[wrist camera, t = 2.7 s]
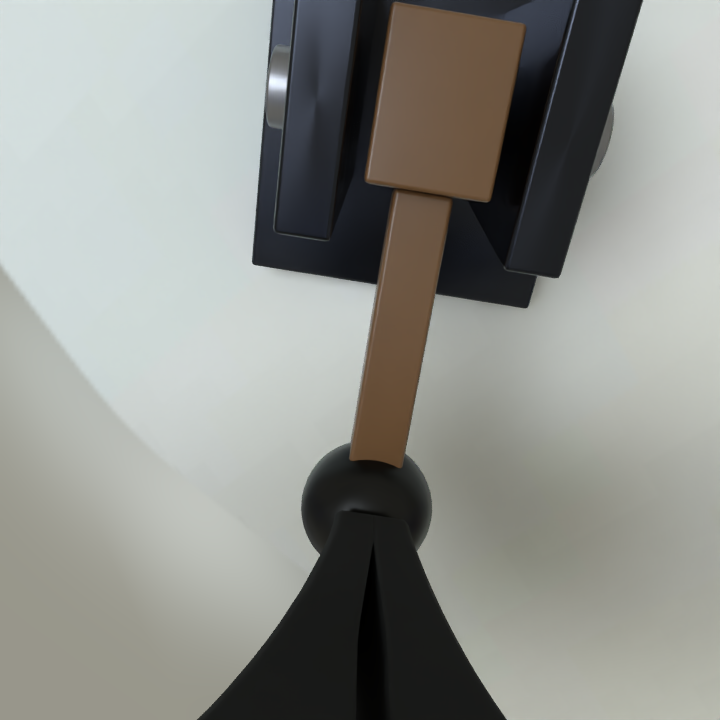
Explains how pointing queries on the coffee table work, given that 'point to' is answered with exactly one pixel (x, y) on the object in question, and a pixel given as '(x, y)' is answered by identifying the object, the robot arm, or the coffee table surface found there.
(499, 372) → the coffee table surface
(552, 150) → the bracket
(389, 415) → the lever
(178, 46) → the coffee table surface
